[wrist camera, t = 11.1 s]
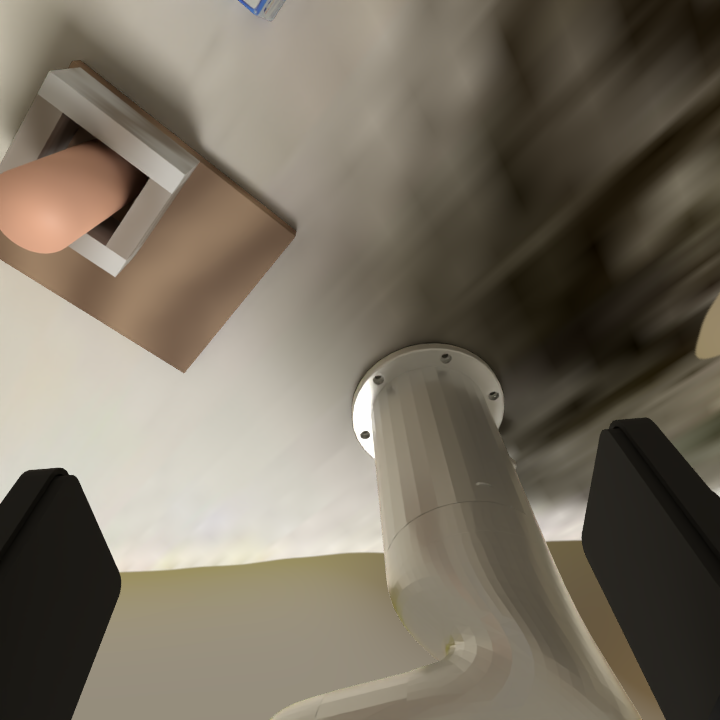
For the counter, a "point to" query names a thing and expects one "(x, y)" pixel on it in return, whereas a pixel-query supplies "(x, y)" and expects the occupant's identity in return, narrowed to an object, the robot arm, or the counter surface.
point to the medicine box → (263, 7)
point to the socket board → (147, 224)
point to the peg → (65, 195)
